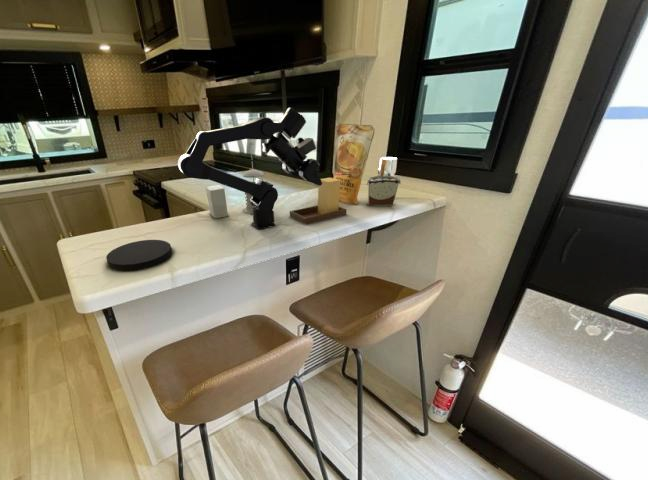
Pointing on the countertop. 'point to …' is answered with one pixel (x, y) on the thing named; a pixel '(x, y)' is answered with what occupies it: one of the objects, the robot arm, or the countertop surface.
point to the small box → (217, 201)
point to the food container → (382, 190)
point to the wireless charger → (139, 255)
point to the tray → (314, 214)
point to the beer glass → (387, 166)
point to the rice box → (328, 195)
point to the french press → (253, 174)
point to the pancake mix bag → (351, 158)
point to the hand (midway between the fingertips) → (315, 182)
